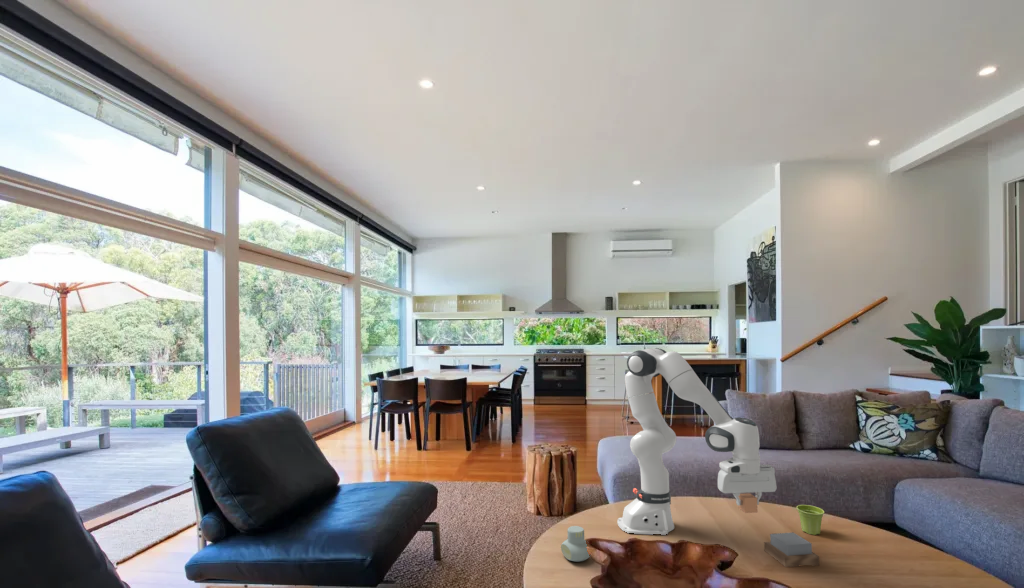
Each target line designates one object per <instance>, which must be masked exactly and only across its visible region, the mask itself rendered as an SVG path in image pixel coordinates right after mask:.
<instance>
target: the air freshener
mask: <svg viewBox="0 0 1024 588" xmlns="http://www.w3.org/2000/svg"><path fill="white" fill-rule="evenodd" d="M586 541H587V540H585V529H584V528H583V527H582V526H579V525H571V526H569V527H568V528H567V539H565V540H564V541H562V543H561V544H560V545H561V546H560V551H561V553H562V555H563V557H565V559H566V560H569V561H570V562H576V563H580V562H584V561H586V560H587V559H589V558H590V557H591V555H590V556H589V554H588V552H587V548H586V547H587V544H586Z"/></svg>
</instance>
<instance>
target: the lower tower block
mask: <svg viewBox="0 0 1024 588" xmlns="http://www.w3.org/2000/svg"><path fill="white" fill-rule="evenodd" d="M763 545H764V552H766V553H767V554H768V553H769V554H768V555H770V556H771V557H772V556H773V557H774V559H775V560H776V561H777V560H778V561H777V562H779V563H780V564H781V565H783V566H784V567H785V568H788V567H800V566H799V565H812V566H820V556H819V555H818V554H816V553H815V552H813V551H812V554H805V555H792V556H787V555H786V554H785V553H783V552H782V551H780V550H779V549H777V548H776V547H774V546H773V545H771V541H764V542H763ZM773 557H772V558H773Z"/></svg>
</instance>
